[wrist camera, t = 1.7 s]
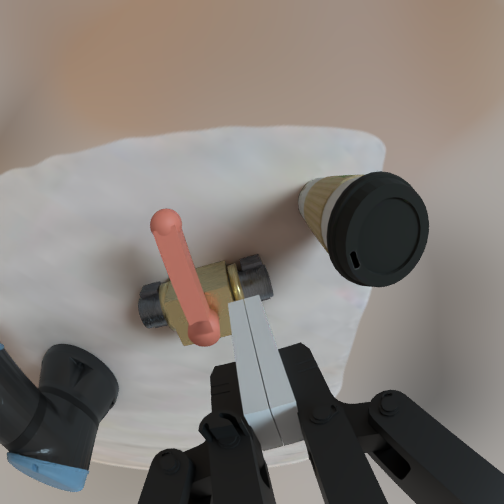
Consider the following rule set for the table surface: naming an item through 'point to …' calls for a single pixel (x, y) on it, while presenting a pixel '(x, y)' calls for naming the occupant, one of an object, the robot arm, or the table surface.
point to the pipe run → (206, 295)
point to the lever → (184, 278)
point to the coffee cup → (367, 225)
